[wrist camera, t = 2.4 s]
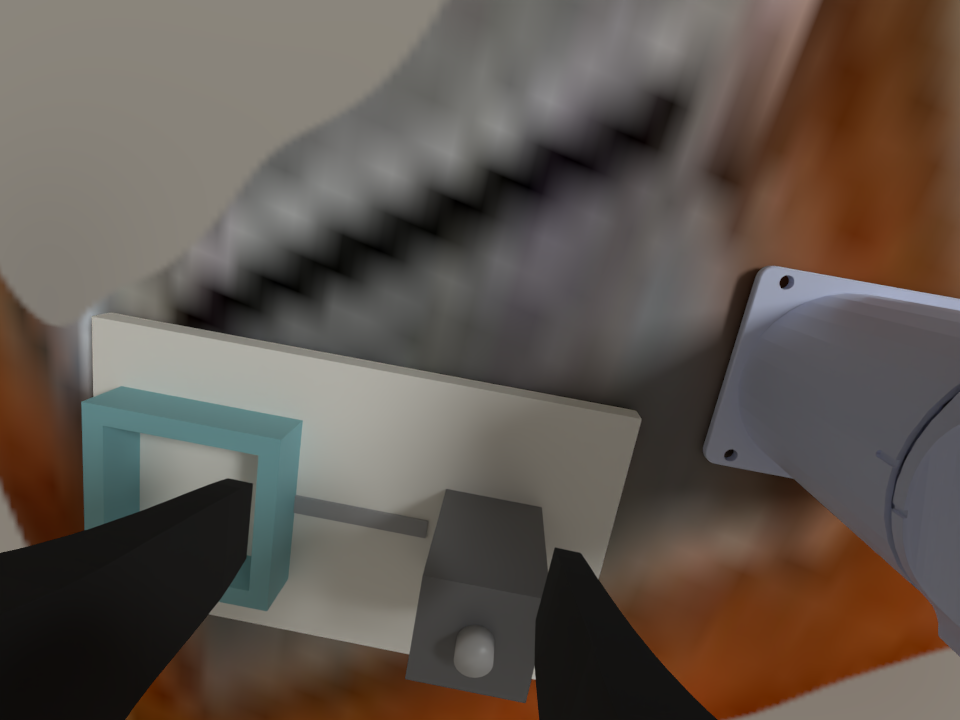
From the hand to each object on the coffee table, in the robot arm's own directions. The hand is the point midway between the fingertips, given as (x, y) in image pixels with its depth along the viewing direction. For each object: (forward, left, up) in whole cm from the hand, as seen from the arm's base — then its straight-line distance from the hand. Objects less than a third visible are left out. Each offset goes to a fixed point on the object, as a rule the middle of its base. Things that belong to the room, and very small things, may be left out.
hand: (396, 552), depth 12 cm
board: (+4, +5, -10) cm, 12 cm away
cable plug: (-2, +5, -9) cm, 10 cm away
